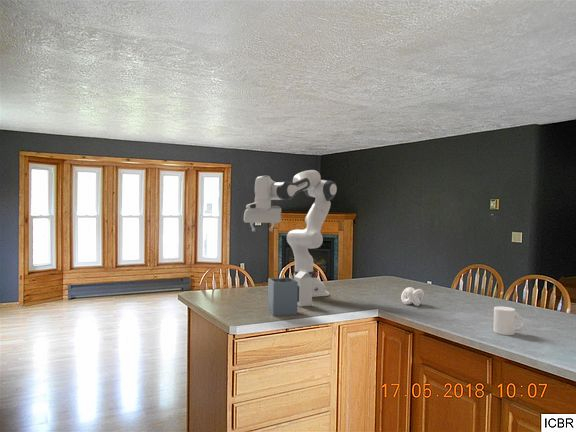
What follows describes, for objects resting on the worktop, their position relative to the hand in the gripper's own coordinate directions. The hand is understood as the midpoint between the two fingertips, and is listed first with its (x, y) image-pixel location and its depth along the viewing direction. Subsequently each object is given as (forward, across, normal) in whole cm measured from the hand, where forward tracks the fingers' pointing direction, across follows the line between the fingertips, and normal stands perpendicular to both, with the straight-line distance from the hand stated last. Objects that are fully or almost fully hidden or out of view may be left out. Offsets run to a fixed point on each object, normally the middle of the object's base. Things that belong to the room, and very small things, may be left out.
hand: (262, 231), depth 240 cm
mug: (+39, -91, +78) cm, 126 cm away
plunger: (+36, -6, +22) cm, 42 cm away
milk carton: (+39, -21, +8) cm, 45 cm away
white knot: (+39, -81, +19) cm, 92 cm away
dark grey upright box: (+39, -7, +22) cm, 45 cm away
